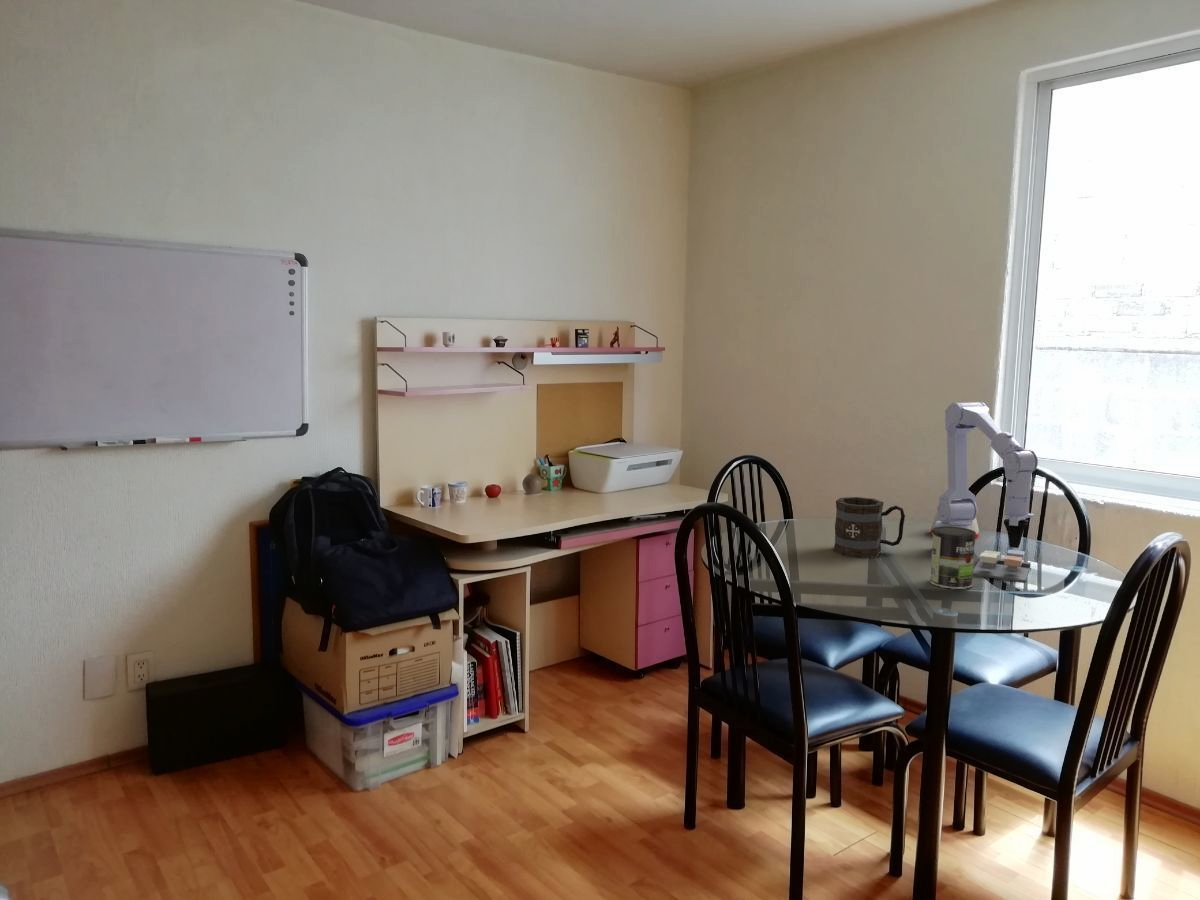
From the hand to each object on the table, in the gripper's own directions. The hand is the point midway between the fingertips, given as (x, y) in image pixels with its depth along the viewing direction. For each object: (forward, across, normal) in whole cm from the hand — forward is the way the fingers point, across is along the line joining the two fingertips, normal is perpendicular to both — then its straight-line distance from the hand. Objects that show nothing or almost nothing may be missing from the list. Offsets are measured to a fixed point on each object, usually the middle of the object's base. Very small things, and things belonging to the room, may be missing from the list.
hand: (1014, 547), depth 238 cm
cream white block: (+7, +7, +6) cm, 12 cm away
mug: (+8, +6, +39) cm, 40 cm away
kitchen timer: (+8, +40, +20) cm, 46 cm away
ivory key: (+6, 0, +6) cm, 9 cm away
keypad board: (+8, +4, +3) cm, 9 cm away
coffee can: (+8, -15, +13) cm, 21 cm away
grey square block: (+6, +7, 0) cm, 9 cm away
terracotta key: (+6, 0, 0) cm, 6 cm away
